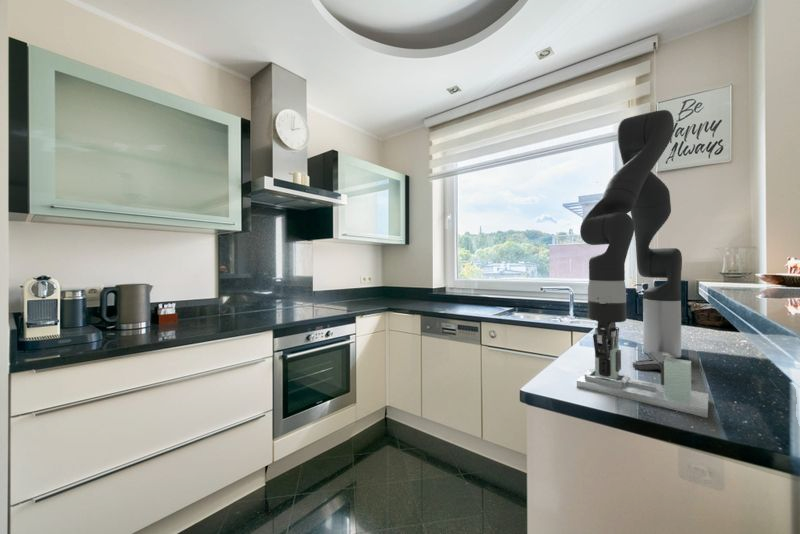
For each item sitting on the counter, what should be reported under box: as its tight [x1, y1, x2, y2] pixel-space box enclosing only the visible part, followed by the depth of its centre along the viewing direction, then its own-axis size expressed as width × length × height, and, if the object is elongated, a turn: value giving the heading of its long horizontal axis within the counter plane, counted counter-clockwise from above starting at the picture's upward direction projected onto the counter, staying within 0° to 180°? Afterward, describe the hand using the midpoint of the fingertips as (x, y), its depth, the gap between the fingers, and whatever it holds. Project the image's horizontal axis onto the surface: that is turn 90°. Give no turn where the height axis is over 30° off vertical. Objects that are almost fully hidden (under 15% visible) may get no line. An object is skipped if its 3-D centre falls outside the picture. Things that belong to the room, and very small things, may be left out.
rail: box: [576, 357, 709, 418], centre depth 70 cm, size 10×22×8 cm, turn 45°
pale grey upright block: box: [594, 345, 622, 380], centre depth 74 cm, size 4×4×7 cm
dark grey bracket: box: [632, 352, 676, 372], centre depth 88 cm, size 4×16×10 cm
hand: (606, 373), depth 75 cm, fingers closed on pale grey upright block, 3 cm apart
